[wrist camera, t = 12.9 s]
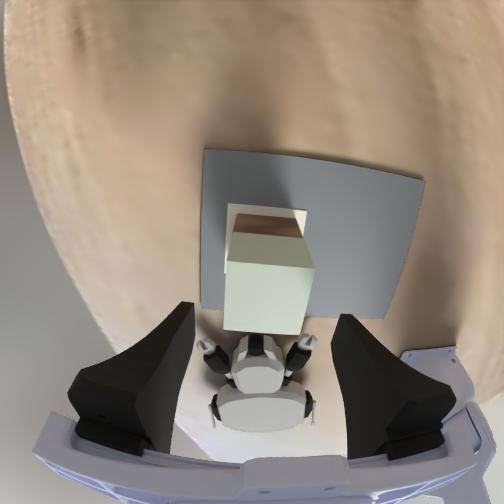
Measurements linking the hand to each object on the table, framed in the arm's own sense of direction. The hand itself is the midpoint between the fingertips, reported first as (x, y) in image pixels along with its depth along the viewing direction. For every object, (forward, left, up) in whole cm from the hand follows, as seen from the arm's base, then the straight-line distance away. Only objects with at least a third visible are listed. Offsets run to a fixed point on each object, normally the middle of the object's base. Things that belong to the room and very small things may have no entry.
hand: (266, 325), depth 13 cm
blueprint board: (-4, 0, -10) cm, 11 cm away
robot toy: (-1, +16, -11) cm, 19 cm away
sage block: (0, 0, -6) cm, 6 cm away
